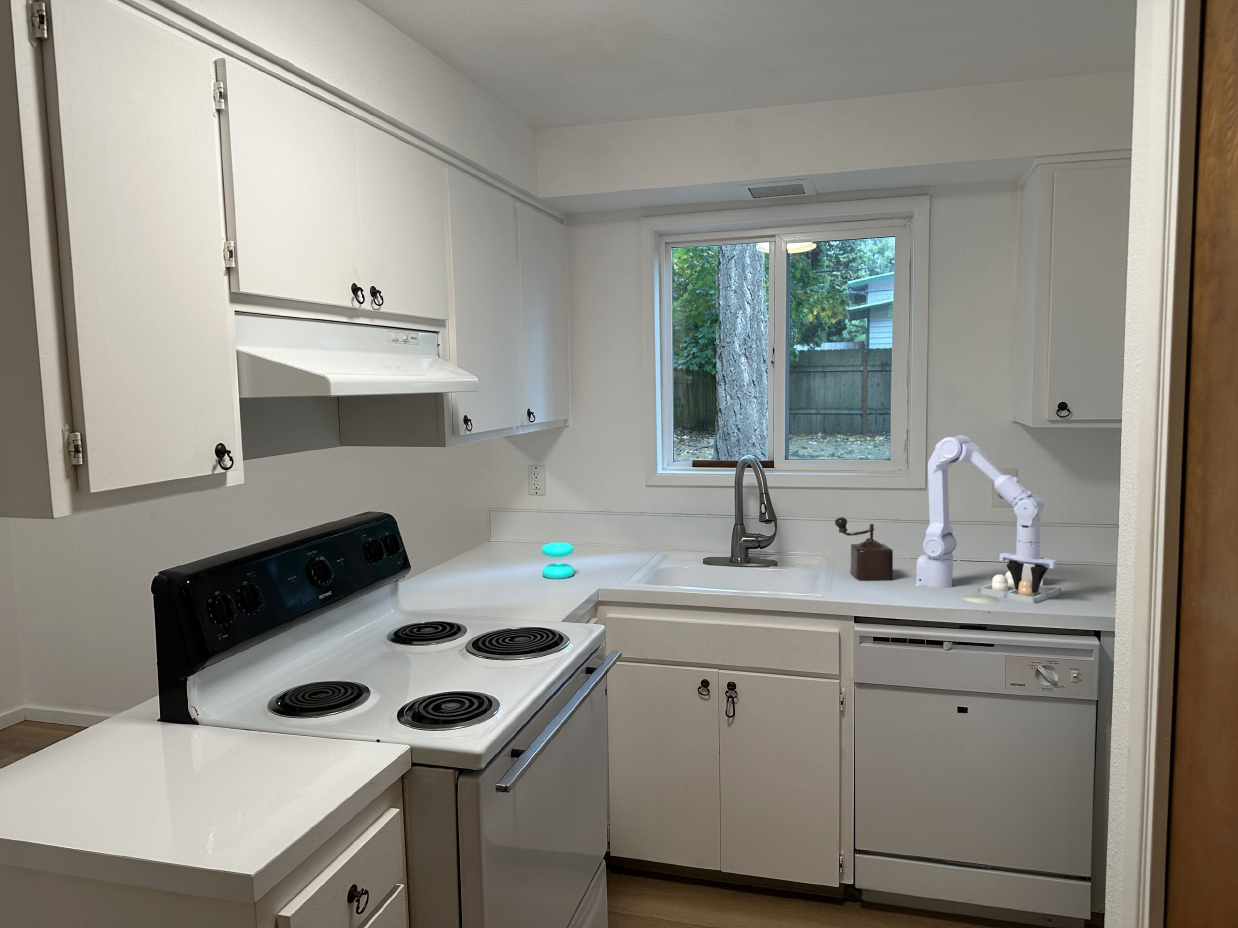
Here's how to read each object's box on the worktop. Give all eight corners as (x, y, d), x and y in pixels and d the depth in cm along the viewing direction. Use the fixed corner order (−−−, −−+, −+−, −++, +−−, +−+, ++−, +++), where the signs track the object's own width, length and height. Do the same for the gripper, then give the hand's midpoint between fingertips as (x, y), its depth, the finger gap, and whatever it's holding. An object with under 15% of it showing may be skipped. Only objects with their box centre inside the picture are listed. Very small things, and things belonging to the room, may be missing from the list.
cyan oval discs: (556, 540, 279) (580, 543, 273) (557, 571, 280) (580, 575, 274) (535, 545, 272) (558, 549, 265) (535, 576, 272) (559, 581, 266)
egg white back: (1002, 588, 245) (1002, 570, 244) (1008, 586, 247) (1009, 568, 247) (1016, 590, 242) (1016, 572, 241) (1022, 588, 244) (1023, 570, 244)
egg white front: (989, 592, 240) (989, 574, 240) (996, 590, 243) (996, 572, 242) (1003, 595, 237) (1003, 576, 236) (1010, 592, 240) (1010, 574, 239)
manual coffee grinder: (882, 572, 271) (883, 515, 269) (893, 580, 260) (894, 521, 258) (832, 573, 271) (833, 516, 269) (841, 581, 260) (842, 522, 258)
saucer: (956, 601, 234) (956, 598, 234) (973, 595, 240) (973, 593, 240) (988, 607, 228) (988, 604, 227) (1005, 601, 233) (1005, 599, 233)
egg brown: (1015, 597, 234) (1016, 578, 234) (1022, 595, 237) (1023, 576, 236) (1030, 600, 231) (1030, 581, 231) (1037, 597, 234) (1037, 578, 233)
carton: (978, 595, 240) (978, 587, 240) (1005, 586, 250) (1005, 578, 250) (1034, 606, 229) (1034, 598, 228) (1060, 596, 238) (1060, 588, 238)
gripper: (1062, 542, 230) (1060, 592, 231) (1008, 535, 241) (1007, 583, 242) (1050, 546, 225) (1048, 597, 226) (996, 538, 236) (994, 587, 238)
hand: (1026, 590), depth 234 cm, fingers closed on egg brown, 4 cm apart
